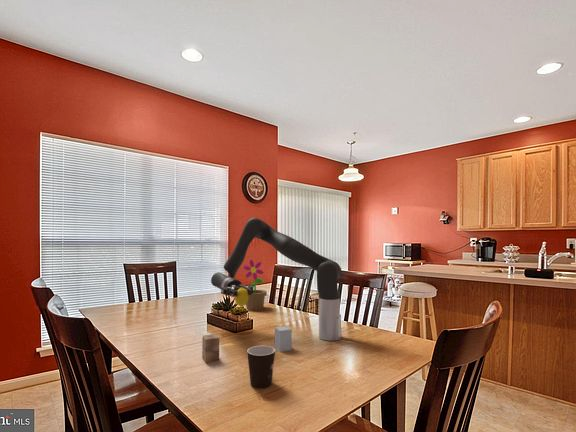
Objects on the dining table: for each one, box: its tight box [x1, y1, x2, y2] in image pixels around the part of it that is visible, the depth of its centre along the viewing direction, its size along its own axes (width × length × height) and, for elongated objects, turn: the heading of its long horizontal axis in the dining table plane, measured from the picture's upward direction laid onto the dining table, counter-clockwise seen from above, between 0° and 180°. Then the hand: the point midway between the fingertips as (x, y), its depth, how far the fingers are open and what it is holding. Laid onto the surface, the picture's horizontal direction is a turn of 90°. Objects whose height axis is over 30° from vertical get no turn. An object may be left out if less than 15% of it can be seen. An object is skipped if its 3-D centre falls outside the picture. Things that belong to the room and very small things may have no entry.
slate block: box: [274, 325, 293, 353], centre depth 130 cm, size 5×5×8 cm
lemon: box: [234, 287, 249, 308], centre depth 134 cm, size 6×6×8 cm
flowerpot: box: [243, 259, 267, 312], centre depth 200 cm, size 14×14×30 cm
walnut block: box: [201, 333, 220, 363], centre depth 120 cm, size 5×5×8 cm
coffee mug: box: [246, 344, 276, 390], centre depth 102 cm, size 12×9×10 cm
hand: (243, 293), depth 132 cm, fingers closed on lemon, 5 cm apart
